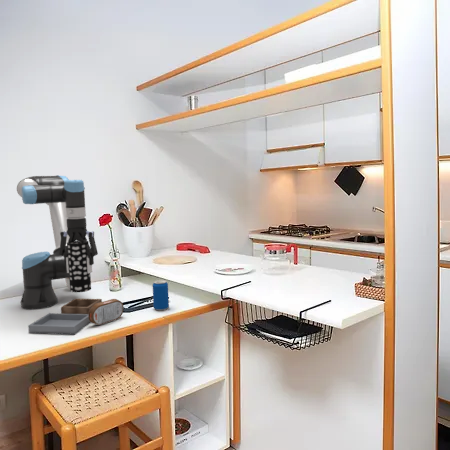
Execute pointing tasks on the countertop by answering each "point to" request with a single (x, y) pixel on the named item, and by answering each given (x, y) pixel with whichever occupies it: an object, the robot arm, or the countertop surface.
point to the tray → (59, 324)
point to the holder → (79, 306)
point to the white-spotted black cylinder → (78, 267)
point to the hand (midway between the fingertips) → (79, 272)
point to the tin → (106, 311)
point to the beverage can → (160, 295)
